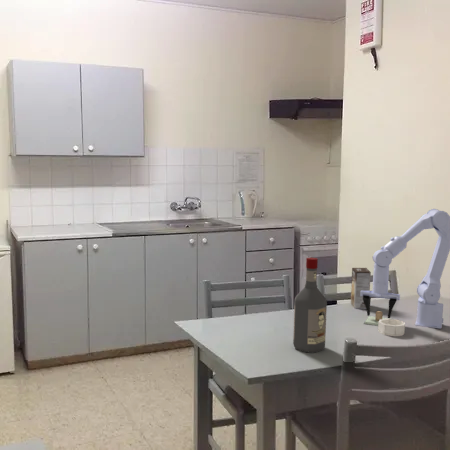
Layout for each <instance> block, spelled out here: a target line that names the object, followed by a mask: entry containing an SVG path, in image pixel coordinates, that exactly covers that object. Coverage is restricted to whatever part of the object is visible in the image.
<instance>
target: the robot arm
mask: <svg viewBox="0 0 450 450" xmlns="http://www.w3.org/2000/svg"><path fill="white" fill-rule="evenodd" d="M429 229H434V230H435V232H436V233H437V235H438V237H437V241H436V244H435V247H434V250H433V254H432V257H431V259H430V262H429V265H428V268H427V271H426V274H425V276H424V277H423V278H422V280H421V282H420V283H419V284H418V286H417V287H416V293H417V295H418V299H417V310H416V320H415V323H414V326H416V327H417V326H418V327H424V328H425V327H426V328H432V329H442V328H443V323H444V318H443V317H444V316H443V315H444V314H443V313H444V303H441V302H439V300H440V299H441V288H442V286H441V279H442V278H441V277H442V275H443V271H444V269H445V266H446V262H447V260H448V256H449V253H450V214H448V212H446V211H444V210H440V209H437V208H431V209H429V210H428V211H427V212H426V213H424V214H423V215H421V216H420V218H418V219H417V220H416V221H415V222H414V223H413V224H412V225H411V226H410V227H409V228H408V229H406V231H405V232H404V233H402V234H401V235H399V236H398V235H395V236H394V237H393V236H392V237H390V238H389V242H387V243H386V244H385V245H381V246H380V249H378V250H376V251H374V253H373V256H372V261H373V262H374V263H373V273H372V274H373V277H372V290H370V291H363V290H361V291H360V296H363V301H364V303H365V306H366V314H367V315H366V316H367V317H368V316H371V301H372V298H377V299H387V300H388V312H387V313H388V314H387V318H390V319H391V315H392V311H393V309H394V307H395V304H396V302H397V301H400V300H401V294H399V293H392V292H389V279H390V265H391V264H392V261H393V259H395V258H396V257H397V256H398V255H399V254H400V253H401V252H403V251H404V250H405V249H406V248H407V244H408V242H410V241H411V240H412V239H413V238H415V237H416V236H418V235H419V234H420V233H421V232H422V231H424V230H429Z"/></svg>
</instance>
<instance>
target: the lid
mask: <svg viewBox="0 0 450 450" xmlns="http://www.w3.org/2000/svg"><path fill="white" fill-rule="evenodd" d="M383 315H384V314H383V311H379V310H378V311H375V316H374V315H373V316H372V315H369V316H367V317H366V319H365V320H364V322H365V324H364V325H366V324H370V325H369V326H374V325H378V322H379V320H380V319H391V317H390V318H388V317H384V316H383Z"/></svg>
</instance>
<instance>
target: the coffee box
mask: <svg viewBox="0 0 450 450" xmlns="http://www.w3.org/2000/svg"><path fill="white" fill-rule="evenodd" d="M371 277H372V275H371V271H370V270H369V269H368V267H352V268H351V287H350V289H351V290H350V304H351V306H352V307H353V308H354V309H362V310H363V309H364V310H365V309H366V306H365V303H364V301H363V296H360V291H361V290H363V291H371Z"/></svg>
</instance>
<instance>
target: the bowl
mask: <svg viewBox="0 0 450 450" xmlns="http://www.w3.org/2000/svg"><path fill="white" fill-rule="evenodd" d="M377 331H378V333H379V334H381V335H384V336H389V337H401V336H404V335H405V332H406V322H405V321H402V320H401V319H395V318H390V319H380V320H379V322H378V326H377Z"/></svg>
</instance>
